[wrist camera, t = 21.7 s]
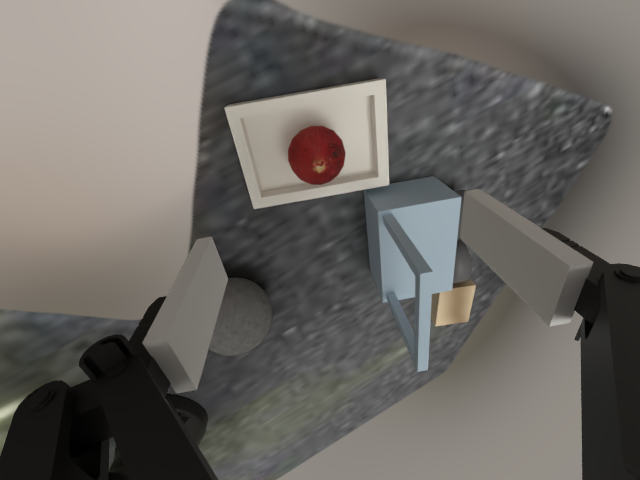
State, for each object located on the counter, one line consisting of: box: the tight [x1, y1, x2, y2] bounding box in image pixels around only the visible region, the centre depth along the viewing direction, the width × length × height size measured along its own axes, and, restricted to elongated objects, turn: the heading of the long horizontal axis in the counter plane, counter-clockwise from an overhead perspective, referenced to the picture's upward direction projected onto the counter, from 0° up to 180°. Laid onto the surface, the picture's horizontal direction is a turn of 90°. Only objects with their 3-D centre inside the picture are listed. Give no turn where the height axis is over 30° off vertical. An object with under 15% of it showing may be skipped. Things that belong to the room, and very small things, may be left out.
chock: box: [431, 279, 476, 326], centre depth 45 cm, size 5×7×5 cm
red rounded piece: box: [288, 126, 346, 185], centre depth 30 cm, size 6×6×8 cm
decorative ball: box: [209, 278, 272, 356], centre depth 40 cm, size 10×10×10 cm
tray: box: [224, 78, 389, 209], centre depth 33 cm, size 16×11×3 cm
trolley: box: [364, 176, 472, 372], centre depth 34 cm, size 12×14×18 cm
